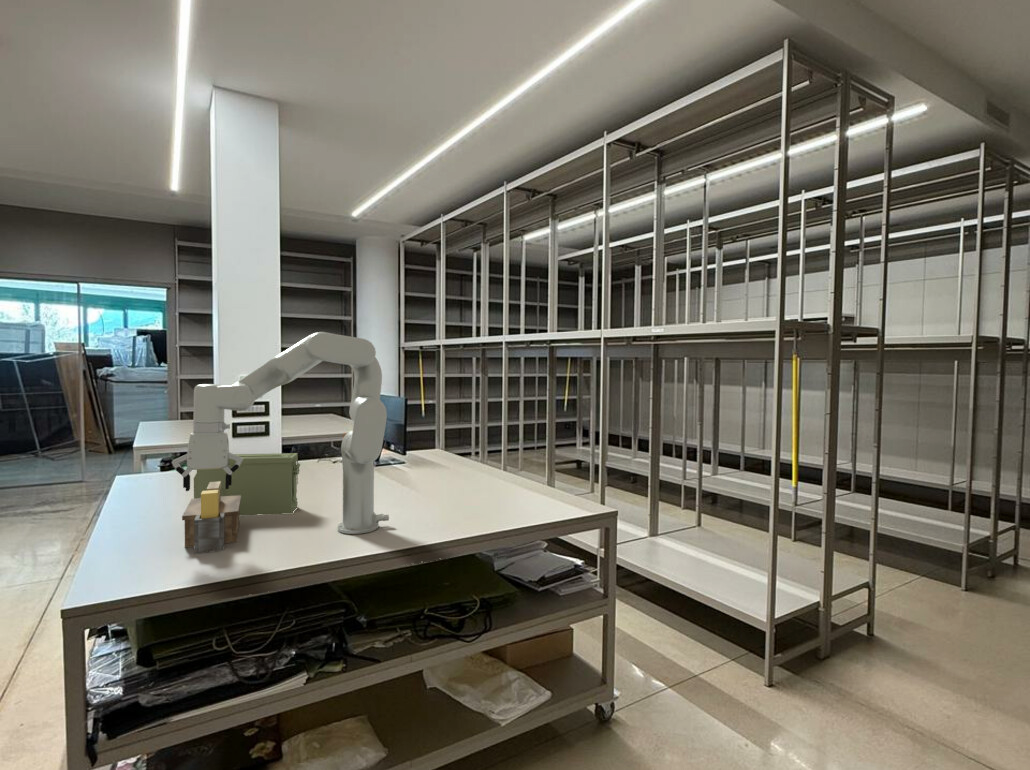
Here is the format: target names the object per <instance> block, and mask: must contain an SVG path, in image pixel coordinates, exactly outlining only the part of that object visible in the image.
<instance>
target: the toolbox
mask: <svg viewBox="0 0 1030 770" xmlns="http://www.w3.org/2000/svg"><path fill="white" fill-rule="evenodd" d="M240 517H241V516H240V509H239V514H238V515H235V516H225V517H224V521H223V522H218V523H207V524H197V525H194V520H195V519H192V520H184V549H185V548H186V547H187V548H192V547H193V546H194V547H193V549H194V550H193V552H194V553H197V554H203V553H202V552H205V553H211V552H210V551H214V552H219V550H223V551H224V550H225V544H229V542H232V543H237V542H238V537H239V529H240V522H241V521H240V520H241V519H240ZM237 536H238V537H237ZM194 553H193V554H194Z"/></svg>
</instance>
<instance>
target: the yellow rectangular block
mask: <svg viewBox="0 0 1030 770" xmlns="http://www.w3.org/2000/svg"><path fill="white" fill-rule="evenodd" d="M216 517H219V490H208V491H202V493H201V519H205V518H216Z"/></svg>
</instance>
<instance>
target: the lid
mask: <svg viewBox="0 0 1030 770" xmlns="http://www.w3.org/2000/svg"><path fill="white" fill-rule="evenodd" d="M208 490H219V517H216V518H205V519H201V498H195V499H194V498H191V499H190V501H189V503H188V504H187V506H186V509H185V511H184V512H183V514H182V516H181V520H182V521H185V520H192V519H195V520H194V525H197V524H207V523H218V522H223V521H224V517H225V516H235V515H238V514H239V509H240V503H241V495H233V496H221V481H219V482H210V483H209V485H208V487H207V491H208Z"/></svg>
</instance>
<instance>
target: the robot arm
mask: <svg viewBox="0 0 1030 770" xmlns="http://www.w3.org/2000/svg"><path fill="white" fill-rule="evenodd" d="M376 353H377V351H376V348H375V345H374V344H373V343H372V342H371V341H369V340H368V339H366V338H362V337H361V338H360V337H355V336H348V335H342V334H335V333H332V332H331V333H330V332H325V331H319V332H318V331H317V332H314V333H311V334H309V335H308V336H306V337H304V338H302V339H301V340H300V341H298V342H297V343H294V344H293V345H292V346H289V348H286V349H285V350H283V351H282V352H281V353H279V354H277V355H276V356H274V357H272V358H271V359H269V360H268V361H267V362H265V363H264V364H263V365H261V366H259V368H256V369H255V370H254V371H252V372H250V373H249V374H247V375H245V376H244V377H242V378H241V379H239V380H237V381H236V382H234V383H233V384H231V385H221V384H216V383H215V384H214V383H202V384H197V385H195V386H194V388H193V422H192V423H193V424H192V425H193V427H192V429H193V430H192V431H193V432H190V435H189V439H188V443H187V452H186V454H184V455H182V456H179V457H177V458H175V459H173V460H172V461H171V464H172V466H173V468H174V469H175V471H176V472H177V473H178V474H179V475H181V477H182V478H183V479H182V481H183V482H182V483H183V484H182V487H183V489H185V492H189V491H190V490H191V475H190V473H191V472H192V471H193V470H195V471H197V470H202V469H222V468H223V469H224V470H225V471H226V472H227V474H226V485H225V489H228V488H229V485H231V484H232V473H233V472H235V471H236V470H237V469H238V468H239V466H240V464H241V463H242V461H243V458H241V457H239V456H237V455H234V454H235V453H232V452H230V443H229V442H230V441H229V436H228V432H225V431H226V430H229V429H230V428H231V424H230V423H226V422H225V410H227V411H228V410H229V411H236V412H238V411H239V412H242V411H246V410H248V409H250V408H251V407H252V406H253V405H254V404H255V401H256V400H258V399H260V398H261V397H262V396H265V394H268V393H269V392H270V391H272V390H274V389H276V388H278V387H281V386H284V385H286V384H290V383H291V382H293V381H295V380H296V379H297V378H299V377H301V376H302V375H304V374H305V373H307V372H308V371H310V370H311V369H312V368H314V367H316V366H317V365H319V364H320V363H322V362H328V363H334V364H339V365H340V364H341V365H347V366H349V367H351V369H352V371H353V374H354V379H353V380H354V382H353V388H352V390H353V391H352V395H351V399H350V405H349V411H348V412H349V417H350V419H351V421H352V422H353V426H352V427H353V428H352V430H350V431H347V433H346V434H345V435H344V437H343V438H342V440H341V447H340V448H341V449H340V451H341V459H342V460H341V461H342V462H341V463H342V522H341V523H339V524H338V525H337V531H338V532H339V533H341V534H347V535H348V534H349V535H358V534H366V533H371V532H374V531H375V530H378V528H379V522H387V521H389V519H390V517H389V514H384V513H379V514H377V513H375V511H374V509H375V504H374V503H375V501H374V499H375V466H374V462H375V461H376V460H377V459H378V458H379V457H380V454H381V452H382V450H383V444H384V437H385V431H386V424H387V418H388V417H387V415H388V413H387V408H386V405H385V404H384V403H383V402H382V401H381V400H380V399H381V393H382V385H383V384H382V383H383V373H382V368H381V365H380V362H379V361H378V358H377V357H376V355H377V354H376ZM229 458H231V459H233V460H235V461H236V464H235V465H234V466H233V467H232V468H230V467H229V466H228V464H229ZM184 461H186V467H187V468H186V469H184V467H182V466H181V464H180V463H182V462H184Z"/></svg>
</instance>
